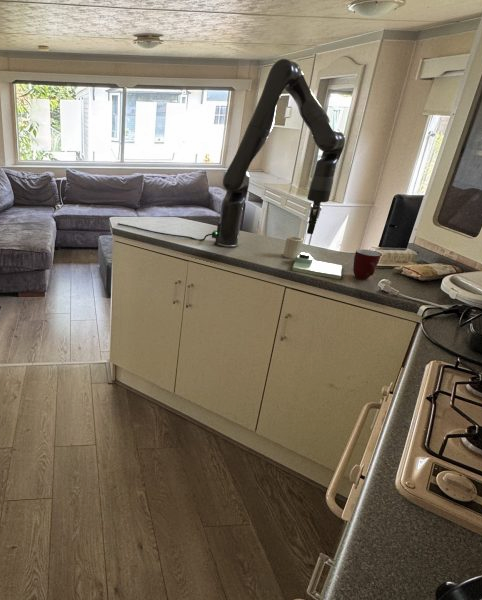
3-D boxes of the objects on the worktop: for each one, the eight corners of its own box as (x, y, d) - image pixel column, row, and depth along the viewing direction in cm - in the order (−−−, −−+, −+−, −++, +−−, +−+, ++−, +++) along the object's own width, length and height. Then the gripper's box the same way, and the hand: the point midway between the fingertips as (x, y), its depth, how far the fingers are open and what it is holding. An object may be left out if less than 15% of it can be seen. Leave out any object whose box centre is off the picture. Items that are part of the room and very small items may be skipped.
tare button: (299, 258, 172) (300, 254, 171) (299, 256, 175) (300, 251, 174) (308, 260, 170) (309, 255, 170) (309, 257, 173) (310, 253, 173)
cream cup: (282, 257, 181) (286, 238, 178) (284, 253, 186) (287, 235, 183) (297, 259, 179) (302, 241, 175) (299, 255, 184) (303, 237, 180)
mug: (381, 284, 155) (390, 258, 151) (360, 284, 155) (368, 258, 151) (364, 274, 165) (372, 249, 161) (344, 274, 164) (351, 249, 160)
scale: (291, 270, 166) (292, 263, 165) (295, 260, 178) (296, 253, 176) (340, 279, 159) (342, 271, 158) (341, 268, 171) (343, 261, 169)
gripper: (311, 184, 169) (301, 227, 176) (308, 189, 157) (298, 234, 164) (332, 186, 166) (321, 230, 173) (330, 191, 154) (319, 238, 161)
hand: (310, 232), depth 168 cm, fingers open, 4 cm apart
